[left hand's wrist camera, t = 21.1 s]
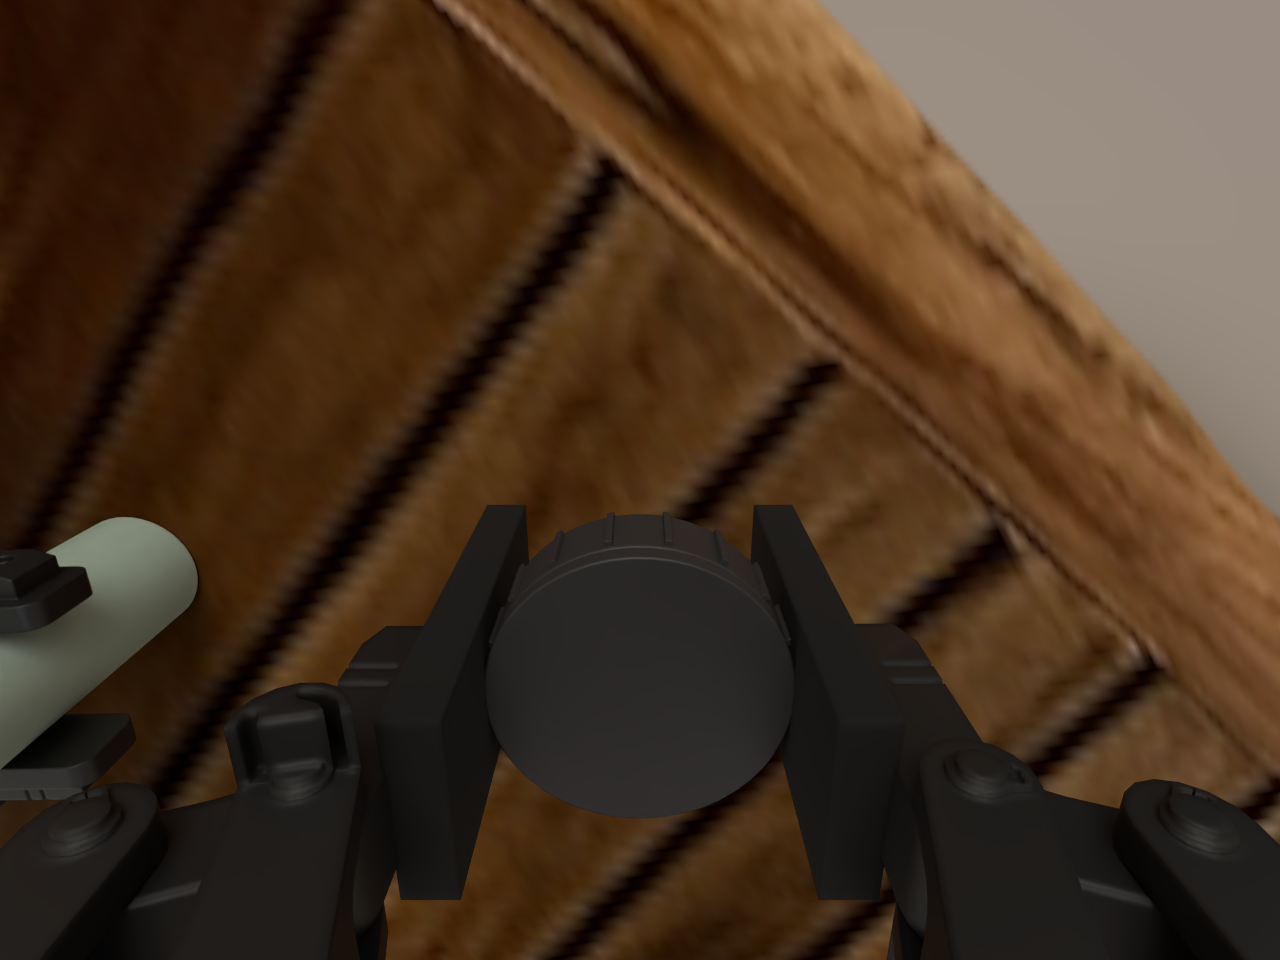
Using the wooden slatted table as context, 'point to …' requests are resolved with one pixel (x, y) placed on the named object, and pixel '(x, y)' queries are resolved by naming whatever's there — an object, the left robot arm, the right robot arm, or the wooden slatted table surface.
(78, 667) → the bottle
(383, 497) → the wooden slatted table surface
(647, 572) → the lid
